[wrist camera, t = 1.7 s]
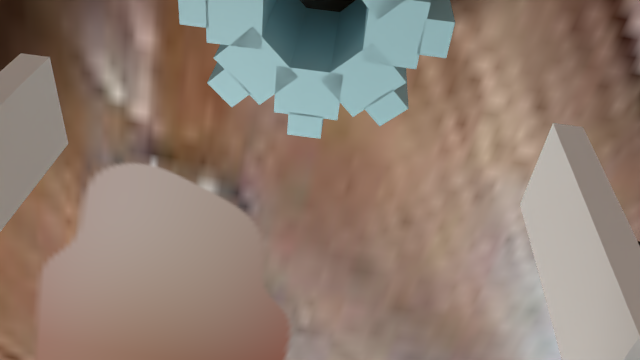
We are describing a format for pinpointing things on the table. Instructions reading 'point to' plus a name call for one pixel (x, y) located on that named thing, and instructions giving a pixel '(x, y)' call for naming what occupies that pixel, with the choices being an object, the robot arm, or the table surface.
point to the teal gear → (320, 54)
